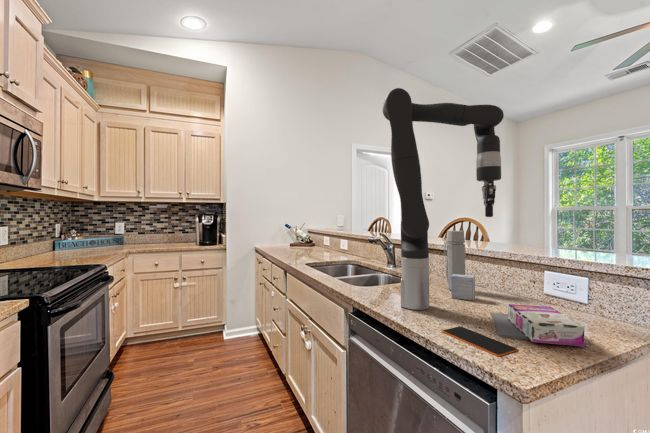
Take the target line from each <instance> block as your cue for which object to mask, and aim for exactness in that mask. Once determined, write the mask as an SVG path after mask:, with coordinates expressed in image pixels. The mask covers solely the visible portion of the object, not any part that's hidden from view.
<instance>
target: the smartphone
mask: <svg viewBox="0 0 650 433" xmlns="http://www.w3.org/2000/svg"><path fill="white" fill-rule="evenodd" d="M441 332H442V333H443V334H445V335H447V336H449V337H452V338H454V339H457V340H458V341H461V342H463V343H466V344H468V345H470V346H472V347H475V348H477V349H480V350H481V351H484V352H485V353H488V354H490V355H493V356H495V357H498V358H500V357H501V358H502V357H505V356H507V355H511V354H513V353H517V352H519V349H518V348H517V347H515V346H511V345H510V344H507V343H504V342H502V341H499V340H497V339H494V338H491V337H489V336H486V335H484V334H481V333H479V332H476V331H473V330H472V329H469V328H466V327H463V326H460V325H459V326H455V327H451V328H447V329H443V330H442V331H441Z"/></svg>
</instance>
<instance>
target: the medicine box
mask: <svg viewBox="0 0 650 433" xmlns="http://www.w3.org/2000/svg"><path fill="white" fill-rule="evenodd" d="M450 291H451V292H450V293H451V295H450V297H451V299H459V300H465V301H475V300H476V278H475V275H469V274H465V275H459V274H453V275H452V276H451V290H450Z"/></svg>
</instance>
